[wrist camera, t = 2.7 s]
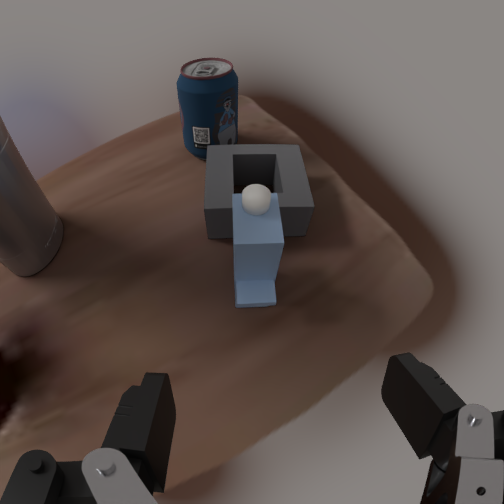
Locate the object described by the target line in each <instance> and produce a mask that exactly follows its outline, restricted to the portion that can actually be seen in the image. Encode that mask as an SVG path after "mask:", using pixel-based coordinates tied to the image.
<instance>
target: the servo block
mask: <svg viewBox="0 0 504 504" xmlns="http://www.w3.org/2000/svg"><path fill="white" fill-rule="evenodd" d="M232 207H233V254H234V284H235V308H244V307H266V306H269V305H276V293H275V279H276V275H277V271H278V267H279V263H280V259H281V255H282V251H283V247H284V237H283V230H282V223H281V216H280V209H279V203H278V196H277V193H271V192H270V190H269V189H268V188H267V187H265V186H263V185H260V184H252V185H249V186H247V187H245V188H244V190H243V192H242V193H241V194H232Z"/></svg>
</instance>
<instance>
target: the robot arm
mask: <svg viewBox="0 0 504 504" xmlns="http://www.w3.org/2000/svg"><path fill="white" fill-rule="evenodd" d="M62 238H63V224H62V221H61V220H60V218H59V216H58V215H57V213H56V212H55V210H54V209H53V207H52V206H51V204H50V203H49V201H48V200H47V198H46V196H45V195H44V193H43V192H42V190H41V189H40V187H39V185H38V184H37V182H36V180H35V179H34V177H33V175H32V174H31V172H30V170H29V169H28V167H27V165H26V164H25V162H24V160H23V158H22V156H21V155H20V153H19V151H18V149H17V147H16V146H15V144H14V142H13V140H12V138H11V136H10V134H9V132H8V130H7V129H6V126H5V124H4V122H3V120H2V118H1V116H0V262H1V263H2V264H3V265H6V266H7V267H8V268H9V269H10V270H11V271H12V272H13V273H15V274H16V275H19V276H30V275H33V274H35V273H37V272H39V271H40V270H42V269H43V268H44V267H45V266H46V265H47V264H48V263H49V262H50V261H51V260H52V259H53V257H54V256H55V255H56V253H57V251H58V249H59V247H60V244H61V242H62ZM381 394H382V399H383V402H384V403H385V405H386V407H387V408H388V410H389V411H390V413H391V414H392V416H393V418H394V419H395V421H396V422H397V424H398V426H399V427H400V429H401V430H402V432H403V433H404V435H405V437H406V438H407V440H408V442H409V443H410V445H411V446H412V448H413V450H414V451H415V453H416V455H417V456H418V457H419V459H422V458H425V457H427V456H430V455H431V456H432V457H433V460H432V461H431V464H430V467H429V472H428V476H427V480H426V484H425V488H424V492H423V495H422V499H421V502H420V504H504V410H503V411H498V412H490V411H489V410H488V409H486V408H485V407H483V406H481V405H478V404H469V405H466V404H465V403H464V402H463V400H462V399H461V398H460V397H459V396H458V395H457V394H456V393H455V392H454V391H453V390H452V388H450V386H449V385H448V384H446V383H445V381H444V380H443V379H442V378H440V376H439V375H438V373H437V372H436V371H434V369H433V368H431V367H429V366H428V365H426V364H424V363H422V362H421V363H420V362H419V361H418V360H417V359H416V358H415V357H414V356H413V355H412V354H411V353H404V354H399V355H394V356H392V357H390V359H389V361H388V365H387V370H386V373H385V377H384V381H383V385H382V390H381ZM118 405H119V406H118V407H117V409H116V412H115V415H114V417H113V419H112V421H111V424H110V426H109V429H108V431H107V434H106V437H105V439H104V442H103V444H102V447H101V448H100V449H96V450H94V451H92V452H90V453H89V454H87V455H86V457H85V458H84V460H83V461H72V462H56V460H55V459H54V458H53V456H52V455H51V454H49V453H48V452H46V451H43V450H31V451H29V452H26V453H25V454H23V455H22V456H21V457H20V459H19V460H18V462H17V464H16V466H15V469H14V471H13V473H12V475H11V477H10V479H9V482H8V484H7V486H6V489H5V491H4V493H3V496H2V498H1V500H0V504H157V502H156V501H155V499H154V498H153V492H161V493H164V488H165V481H166V475H167V468H168V462H169V456H170V450H171V444H172V438H173V432H174V427H175V421H176V409H175V403H174V398H173V394H172V389H171V384H170V379H169V376H168V374H167V373H148V372H147V373H145V375H144V378H143V381H142V383H141V386H131V387H130V388H129V389H128V390H127V391H126V392H125V393H124V394H123V395H122V397H121V400H120V402H119V404H118Z"/></svg>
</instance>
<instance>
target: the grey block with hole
mask: <svg viewBox="0 0 504 504" xmlns="http://www.w3.org/2000/svg"><path fill="white" fill-rule="evenodd" d="M252 184H260V185H272V186H273V192H274V193H277V196H278V203H279V209H280V216H281V223H282V230H283V236H305V235H306V232H307V229H308V226H309V223H310V219H311V216H312V213H313V210H314V207H315V206H314V202H313V198H312V194H311V190H310V186H309V182H308V178H307V174H306V170H305V167H304V163H303V159H302V155H301V152H300V148H299V145H287V144H236V145H207V160H206V177H205V197H204V213H205V220H206V227H207V234H208V239H216V238H233V207H232V194H234V186H236V185H252ZM240 194H241V193H240Z"/></svg>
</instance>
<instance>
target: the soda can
mask: <svg viewBox="0 0 504 504" xmlns="http://www.w3.org/2000/svg"><path fill="white" fill-rule="evenodd" d="M177 90H178V99H179V107H180V115H181V123H182V130H183V137H184V144H185V147H186V148H187V150H188V151H189V152H190V153H192V154H193V155H194V156H195V157H197V158H199V159H203V160H207V145H236V143H237V135H238V77H237V75H236V73H235V72H234V70H233V65H232V63H231V62H229V61H227V60H225V59H220V58H202V59H197V60H193V61H190V62H188V63H186V64H184V65H183V66H182V68H181V74H180V76H179V78H178V81H177Z"/></svg>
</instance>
